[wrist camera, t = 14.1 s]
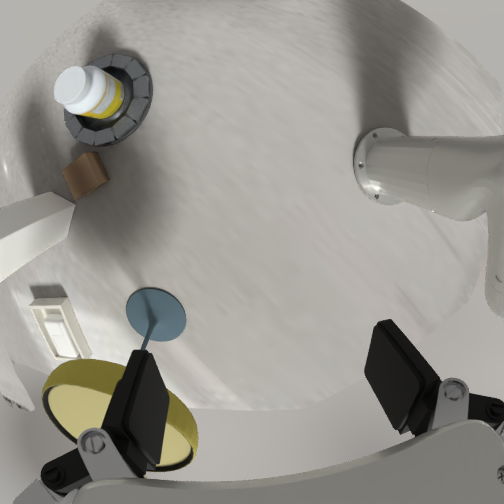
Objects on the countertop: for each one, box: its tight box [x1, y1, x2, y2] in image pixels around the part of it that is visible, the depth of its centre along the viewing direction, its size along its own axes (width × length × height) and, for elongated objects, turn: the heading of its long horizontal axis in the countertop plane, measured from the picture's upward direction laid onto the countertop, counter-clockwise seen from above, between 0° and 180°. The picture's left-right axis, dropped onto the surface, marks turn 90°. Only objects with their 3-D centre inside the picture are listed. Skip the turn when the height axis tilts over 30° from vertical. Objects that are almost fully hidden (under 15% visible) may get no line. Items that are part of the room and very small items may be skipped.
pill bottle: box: [54, 66, 126, 119], centre depth 25 cm, size 6×6×12 cm
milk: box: [0, 192, 75, 282], centre depth 26 cm, size 6×6×22 cm
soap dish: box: [29, 297, 92, 361], centre depth 42 cm, size 9×13×3 cm
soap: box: [44, 314, 79, 357], centre depth 41 cm, size 9×6×3 cm, turn 3°
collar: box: [64, 54, 153, 146], centre depth 30 cm, size 15×15×2 cm
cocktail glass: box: [42, 289, 198, 472], centre depth 32 cm, size 18×18×25 cm
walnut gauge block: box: [61, 152, 110, 200], centre depth 33 cm, size 5×5×4 cm
